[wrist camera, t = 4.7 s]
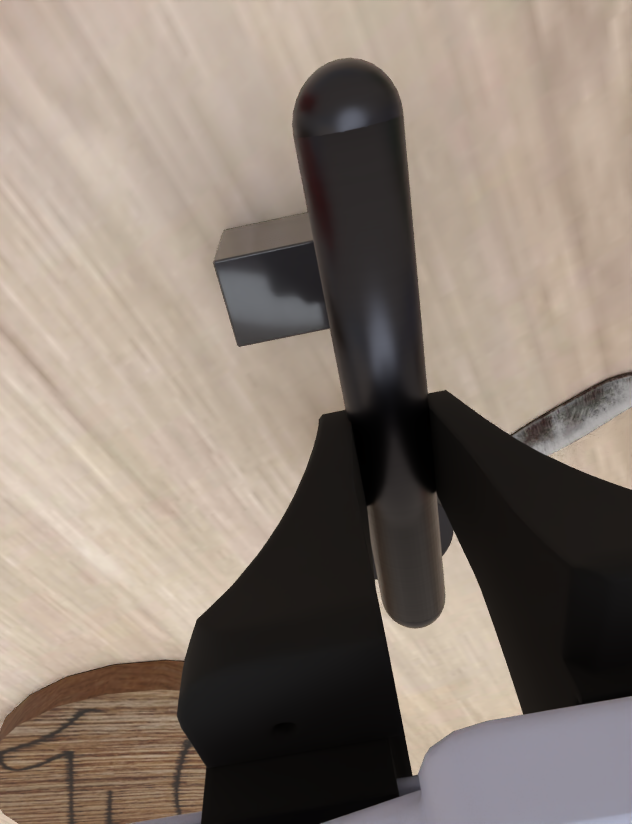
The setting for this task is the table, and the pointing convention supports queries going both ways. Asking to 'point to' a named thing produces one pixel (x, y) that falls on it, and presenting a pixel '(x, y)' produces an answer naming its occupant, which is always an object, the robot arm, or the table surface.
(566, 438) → the knife
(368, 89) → the crank handle
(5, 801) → the trivet
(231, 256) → the dark grey cube
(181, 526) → the table surface
